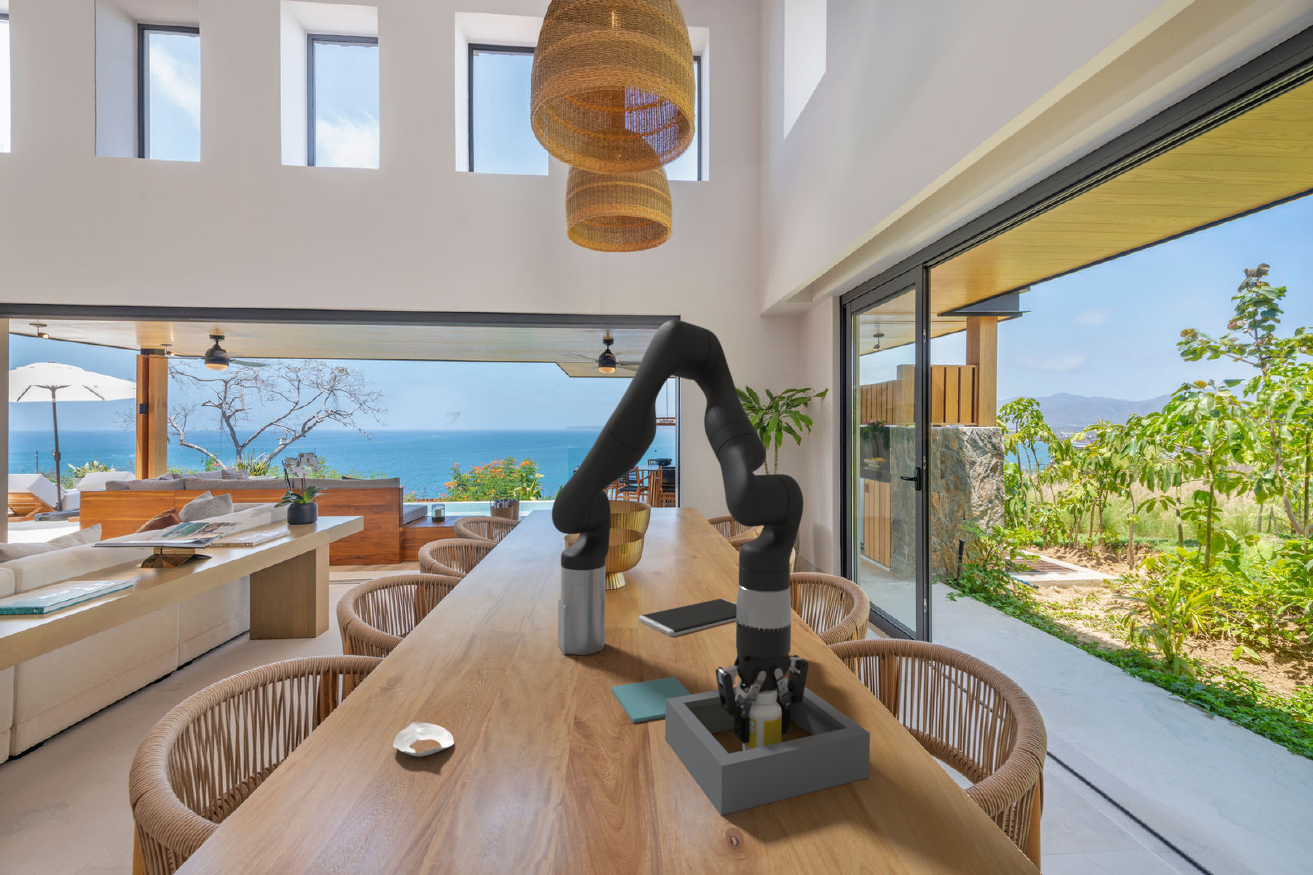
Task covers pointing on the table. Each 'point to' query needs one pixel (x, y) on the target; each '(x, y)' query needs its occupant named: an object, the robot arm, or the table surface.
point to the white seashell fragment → (422, 738)
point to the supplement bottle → (764, 721)
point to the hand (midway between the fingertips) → (761, 735)
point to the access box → (766, 752)
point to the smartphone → (691, 617)
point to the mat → (648, 697)
